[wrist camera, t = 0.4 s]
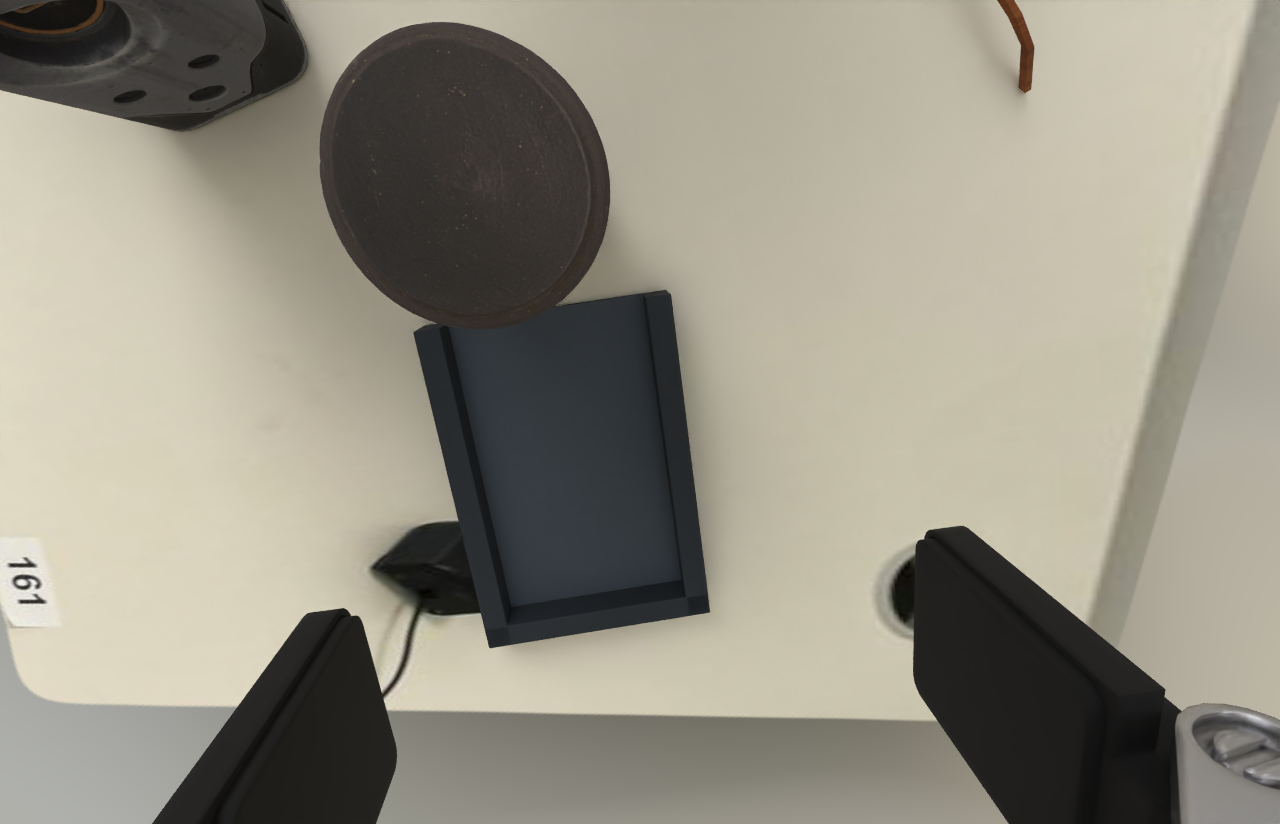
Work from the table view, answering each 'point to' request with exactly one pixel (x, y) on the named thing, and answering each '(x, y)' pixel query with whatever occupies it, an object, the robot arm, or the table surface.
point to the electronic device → (149, 56)
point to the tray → (570, 467)
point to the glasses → (1025, 40)
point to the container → (463, 175)
